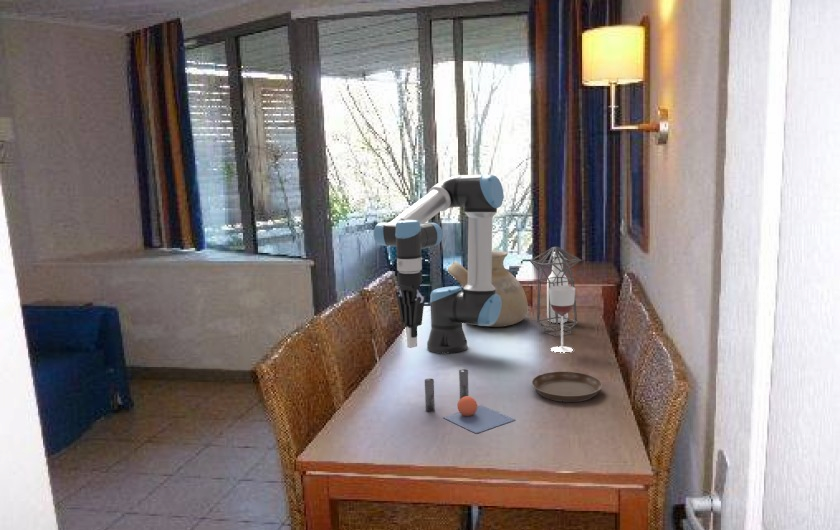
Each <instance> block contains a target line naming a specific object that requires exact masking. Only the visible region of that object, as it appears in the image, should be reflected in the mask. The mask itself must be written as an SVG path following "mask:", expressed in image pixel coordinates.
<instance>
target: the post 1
mask: <svg viewBox="0 0 840 530" xmlns="http://www.w3.org/2000/svg"><path fill="white" fill-rule="evenodd" d="M424 401H425V402H424V403H425V412H428V413H431V412H435V410H436V409H435V408H436V407H435V405H436V404H435V379H434V378H425V379H424Z"/></svg>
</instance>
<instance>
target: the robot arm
mask: <svg viewBox="0 0 840 530" xmlns="http://www.w3.org/2000/svg"><path fill="white" fill-rule="evenodd" d="M503 201H504V189H503V184H502V183H501V180H500V179H499V178H498V177H497V176H496V175H493V174H486V173H483V174H456V175H452V176H450V177H447V178H445V179H443V180H441V181H439V182H438V183H436V184H434V185H432V187H430V188H429V190H428V191H427V193H426V194H425V195H424V196H423V197H422V198H420V199H419V200H418V201H416V202H415V203H413V204H412V205H411V206H409V207H408V208H407V209H405V210H404V211H403V212H402V213H400V214H399V215H398V216H396V217H395V218H393V219H392V220H390V221H389V222H386V221H384V222H378V223H377V224H376V225H375V226H374V229H373V239H374V241H375V243H376V244H377V245H379V246H385V247H396V270H397V274H396V275H397V285H399V286H400V288H399V290H398V291H396V292H395V297H396V298H397V303H398V309H399V315H400V320H401V323H402V324H404V325H405V328H406V329H405V331H406V344H407V345H406V347H407V348H409V349H412V348H417V347H418V327H419V326H422V325H423V316H424V315H423V314H424V308H425V307H424V306H425V303H426V299H427V298H426V296H425V295H422V293H421V288H420V287H421V286H420V285H422V284H423V272H422V270H423V261H422V258H423V257H422V250H424V249H428V248H433V247H435V246H438V245H439V244H441V242H442V241H443V237H444V232H443V229H442V227H441V226H440V225H439V224H438V223H435V222H428V221H430V220H431V219H433V218H434V217H435V216H436V215H438V214H439V213H440V212H445V211H446V210H448V209H451V208H464V209H463V213H464V214H465V215H466V216H467V218H468V219H467V220H468V221H467V223H468V229H467V230H468V231H467V234H468V235H467V237H468V238H467V271H468V283H467V285H466V286H465V287H464V288H463V287H461V286H459V285H455V286H450V285H449V286H444V287H443V286H442V287H438V288H436V289H433V290H432V291H431V292H430V300H429V304H430V305H429V306H430V325H431V326H430V327H431V328H430V332H429V336H428V340H427V342H426V343H427V344H426V347H427V348H426V349H427V350H428V351H429V352H432V353H436V354H437V353H438V354H456V353H461V352H464V351H465V350H467V349H468V341H467V340H468V339H467V338H466V334H465V332H464V328H463V324H467V325H476V326H479V327H489V326H491V325H493V324H494V323H495V322H496V321H497V319H498V317H499V315H500V311H501V305H502V301H501V298H500V296H499V295H498V294H495V287H494V286H493V285H492V284H491V276H492V251H493V217H494V216H495V215H496V214H497V211H498V208H500V207H501V206H502V205H503ZM462 288H463V289H462Z"/></svg>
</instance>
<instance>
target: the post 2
mask: <svg viewBox="0 0 840 530" xmlns="http://www.w3.org/2000/svg"><path fill="white" fill-rule="evenodd" d="M458 376H459V379H458V380H459V400H460V399H461V398H462V397H465V396H469V370H468V369H459V371H458Z"/></svg>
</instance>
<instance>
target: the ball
mask: <svg viewBox="0 0 840 530" xmlns="http://www.w3.org/2000/svg"><path fill="white" fill-rule="evenodd" d="M477 407H478V403H477V401H476V400H475V399H474V398H473V397H472V396H465V397H462V398H461V399H460V398H459V400H458V402H457V411H458V413H459V412H460V413H461V414H462V415H464V416H471V415H473V414H474V413H475V412H476V410H477Z"/></svg>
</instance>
